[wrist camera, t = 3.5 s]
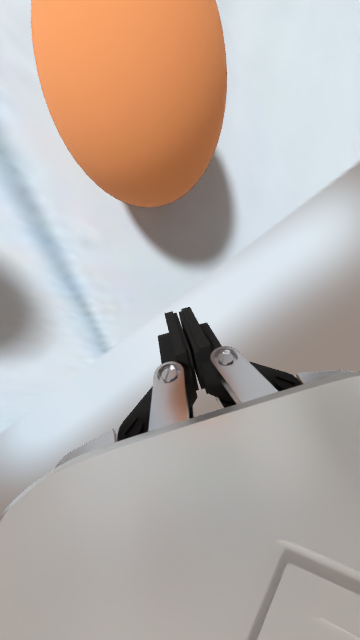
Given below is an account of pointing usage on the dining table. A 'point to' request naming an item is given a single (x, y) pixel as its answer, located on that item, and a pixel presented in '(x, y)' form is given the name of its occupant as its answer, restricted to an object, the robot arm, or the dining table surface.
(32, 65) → the dining table surface
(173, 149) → the ball
